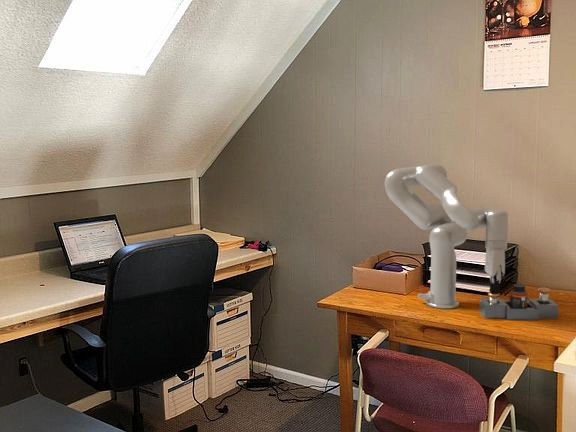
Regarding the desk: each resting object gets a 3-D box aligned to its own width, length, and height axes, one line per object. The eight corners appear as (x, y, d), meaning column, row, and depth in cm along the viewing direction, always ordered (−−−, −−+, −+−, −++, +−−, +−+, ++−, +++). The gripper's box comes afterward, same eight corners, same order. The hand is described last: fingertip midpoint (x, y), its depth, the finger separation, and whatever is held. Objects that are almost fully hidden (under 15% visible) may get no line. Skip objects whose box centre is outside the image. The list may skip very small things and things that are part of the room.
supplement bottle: (527, 318, 225) (529, 287, 223) (510, 317, 226) (511, 287, 224) (524, 313, 231) (526, 283, 229) (508, 312, 232) (509, 282, 230)
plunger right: (539, 307, 226) (540, 290, 225) (535, 304, 229) (536, 287, 228) (550, 307, 225) (551, 290, 224) (546, 304, 229) (547, 287, 228)
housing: (485, 319, 224) (486, 306, 223) (478, 310, 235) (478, 297, 234) (559, 320, 222) (560, 306, 221) (548, 310, 233) (549, 298, 232)
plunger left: (489, 311, 227) (489, 294, 226) (486, 308, 231) (486, 291, 230) (500, 311, 227) (500, 294, 226) (497, 308, 231) (497, 291, 230)
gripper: (480, 240, 232) (479, 288, 235) (491, 248, 218) (489, 298, 220) (500, 240, 232) (499, 288, 235) (512, 248, 217) (511, 298, 220)
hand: (494, 293), depth 228 cm, fingers closed
